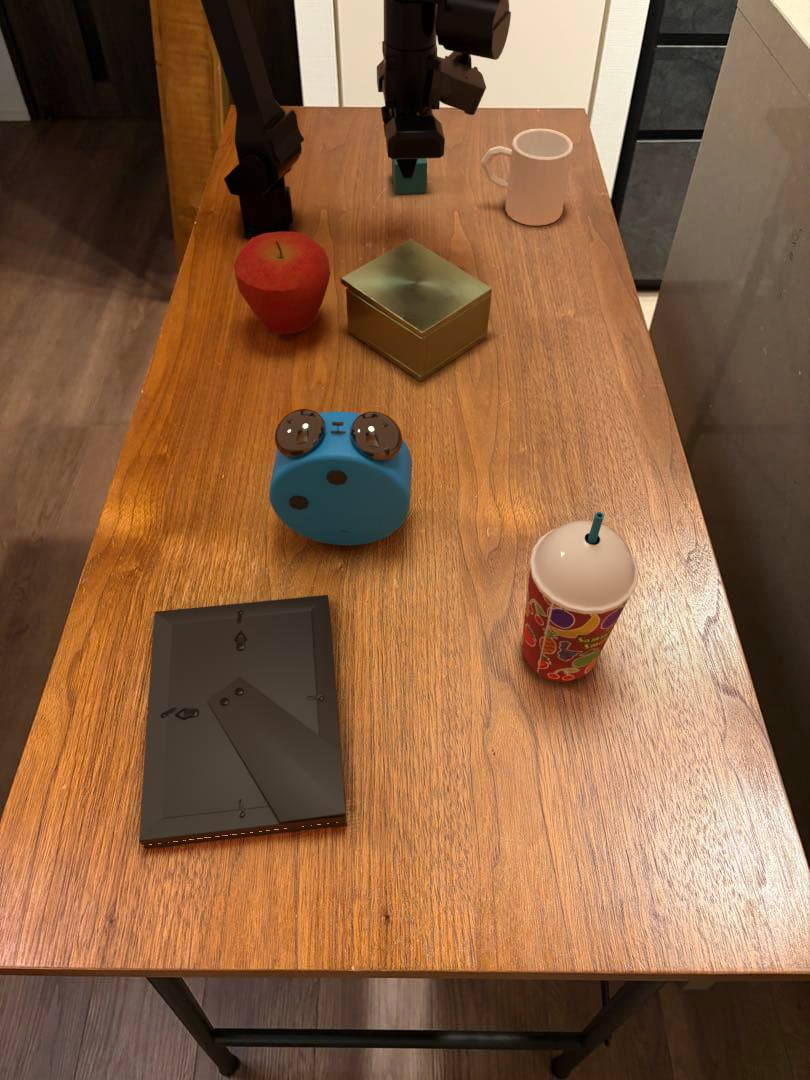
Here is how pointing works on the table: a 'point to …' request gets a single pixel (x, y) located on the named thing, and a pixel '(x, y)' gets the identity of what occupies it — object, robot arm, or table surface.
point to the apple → (283, 279)
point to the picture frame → (241, 723)
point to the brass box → (409, 347)
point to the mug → (534, 175)
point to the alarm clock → (341, 476)
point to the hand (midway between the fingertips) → (407, 177)
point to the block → (410, 179)
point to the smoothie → (575, 597)
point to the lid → (416, 287)
